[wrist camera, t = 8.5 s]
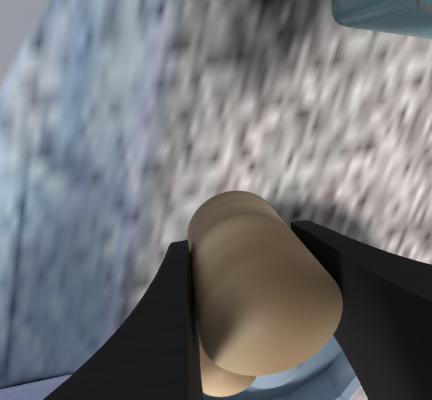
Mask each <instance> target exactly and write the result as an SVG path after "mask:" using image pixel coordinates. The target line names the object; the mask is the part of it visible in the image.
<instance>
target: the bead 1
mask: <svg viewBox="0 0 432 400" xmlns="http://www.w3.org/2000/svg"><path fill="white" fill-rule="evenodd" d="M199 342H200V367H201V380H202V388H203V393H205V394H207V395H210V396H215V397H225V396H231V395H234V394H237V393H239V392H241V391H243V390H245V389H246V388H248V387H249V386H250V385H251V384H252V383H253V382H254V380H255V379H256V377H257V376H248V375H240V374H236V373H232V372H230V371H227V370H225V369H223V368H221V367H219V366H218V365H216V364H215V363H214V362H213V361H212V360H211V359H210V358H209V357H208V356H207V354H206V353H205V351H204V349H203V347H202V344H201V340H200V334H199Z"/></svg>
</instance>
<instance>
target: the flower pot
mask: <svg viewBox="0 0 432 400" xmlns="http://www.w3.org/2000/svg"><path fill="white" fill-rule="evenodd" d="M332 14H333V18H334V20H335V21H336V22H337V23H338V24H340V25H343V26H346V27H351V28H358V29H366V30H373V31H380V32H387V33H394V34H400V35H407V36H414V37H420V38H427V39H432V0H333V6H332Z"/></svg>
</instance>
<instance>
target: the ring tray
mask: <svg viewBox="0 0 432 400" xmlns="http://www.w3.org/2000/svg"><path fill="white" fill-rule="evenodd" d="M360 385H361V384H360V382H359V380H358V378H357V376H356V374H355V372H354V370H353V369H352V367H351V365H350V363H349V361H348V359H347V358H346V356H345V354H344V352H343V350H342V349H341V347H340V345H339V344H338V342H337V340H336V339H335V337H334V336H333V335H332V337H331V338H330V340H329V341H328V342H327V343H326V344H325V345H324V346H323V347H322V348H321V349H320V350H319V351H318V352H317V353H316V354H315V355H313V356H312V357H310V358H309V359H308V360H306V361H304V362H303V363H301V364H299V365H297V366H295V367H293V368H290V369H288V370H285V371H282V372H278V373H275V374H269V375H261V376H257V377H256V379H255V380H254V382H253V383H252V384H251V385H250V386H249V387H248V388H246V389H245V390H243V391H241V392H239V393H237V394H234V395H231V396H225V397H215V396H210V395H207V394H205V393H203V396H204V400H346V399H347V400H349V399H350V397H351V396H352V395H353V394H354V392H355V391H356V390H357V389H358V388H359V386H360Z"/></svg>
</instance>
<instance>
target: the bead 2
mask: <svg viewBox="0 0 432 400" xmlns="http://www.w3.org/2000/svg"><path fill="white" fill-rule="evenodd" d="M187 238H188V245H189V251H190V258H191V265H192V276H193V286H194V294H195V302H196V310H197V318H198V326H199V334H200V340H201V344H202V347H203V349H204V351H205V353H206V354H207V356H208V357H209V358H210V359H211V360H212V361H213V362H214V363H215V364H216V365H218V366H219V367H221V368H223V369H225V370H227V371H230V372H232V373H236V374H240V375H248V376H261V375H269V374H275V373H278V372H282V371H285V370H288V369H290V368H293V367H295V366H297V365H299V364H301V363H303V362H304V361H306V360H308V359H309V358H310V357H312V356H313V355H315V354H316V353H317V352H318V351H319V350H320V349H321V348H322V347H323V346H324V345H325V344H326V343H327V342H328V341H329V340H330V338H331V337H332V335H333V334H334V332H335V331H336V329H337V327H338V324H339V322H340V319H341V315H342V310H343V300H342V294H341V291H340V288H339V286H338V285H337V283H336V281H335V280H334V279H333V278H332V276H331V275H330V274H329V273H328V272H327V271H326V270H325V268H324V267H323V266H322V265H321V264H320V263H319V261H318V260H317V259H316V258H315V257H314V256H313V254H312V253H311V252H310V251H309V250H308V249H307V248H306V246H305V245H304V244H303V243H302V242H301V241H300V239H299V238H298V237H297V236H296V235H295V234H294V232H293V231H292V230H291V229H290V228H289V227H288V225H287V224H286V223H285V222H284V221H283V220H282V219H281V217H280V216H279V215H278V214H277V213H276V212H275V210H274V209H273V208H272V207H271V206H270V205H269V203H268V202H266V201H265V200H264V199H263V198H261V197H260V196H258V195H256V194H253V193H250V192H245V191H229V192H225V193H221V194H218V195H216V196H214V197H212V198H210V199H209V200H207V201H206V202H205V203H204V204H202V205H201V206H200V207H199V208H198V210H197V211H196V212H195V214H194V215H193V217H192V219H191V221H190V224H189V227H188V235H187Z"/></svg>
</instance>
